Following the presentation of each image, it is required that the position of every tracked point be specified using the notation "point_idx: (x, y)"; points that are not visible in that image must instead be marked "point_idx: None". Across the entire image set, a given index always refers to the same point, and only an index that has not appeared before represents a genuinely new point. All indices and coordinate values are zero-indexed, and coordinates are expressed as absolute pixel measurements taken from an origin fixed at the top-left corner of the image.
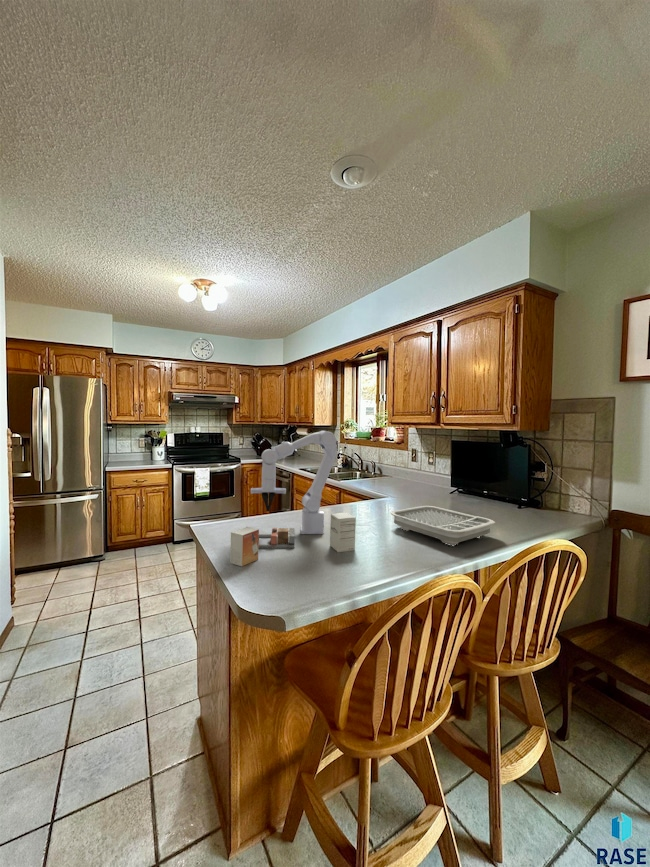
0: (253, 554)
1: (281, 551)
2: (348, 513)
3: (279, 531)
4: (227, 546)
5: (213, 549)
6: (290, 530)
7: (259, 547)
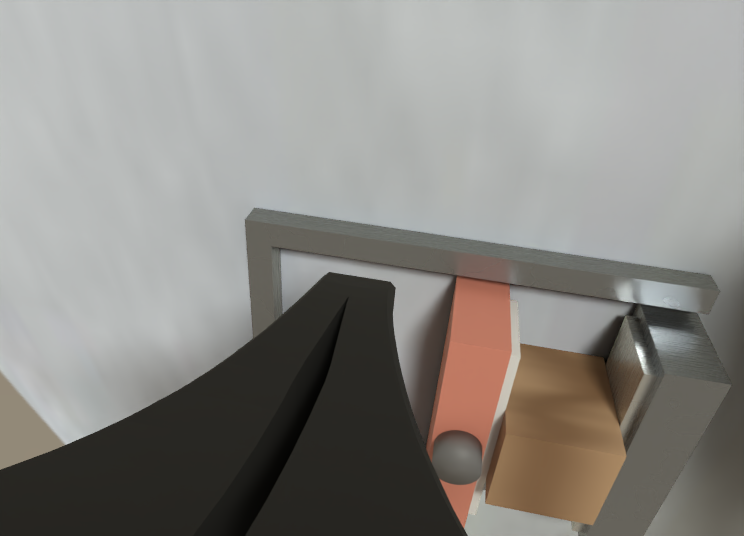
0: None
1: (492, 512)
2: None
3: (500, 506)
4: (114, 366)
5: (48, 390)
6: (646, 440)
7: None
